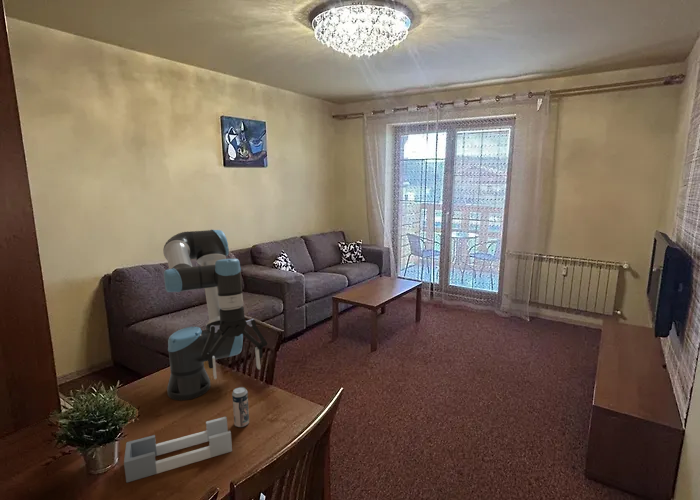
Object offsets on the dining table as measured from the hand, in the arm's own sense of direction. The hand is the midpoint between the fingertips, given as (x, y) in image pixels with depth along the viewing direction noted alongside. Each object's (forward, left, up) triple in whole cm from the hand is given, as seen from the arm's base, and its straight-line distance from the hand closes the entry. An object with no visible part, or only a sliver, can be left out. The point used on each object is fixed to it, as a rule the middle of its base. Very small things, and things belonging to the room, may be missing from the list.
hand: (237, 372), depth 125 cm
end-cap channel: (+9, -18, -18) cm, 27 cm away
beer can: (+1, 0, -18) cm, 18 cm away
